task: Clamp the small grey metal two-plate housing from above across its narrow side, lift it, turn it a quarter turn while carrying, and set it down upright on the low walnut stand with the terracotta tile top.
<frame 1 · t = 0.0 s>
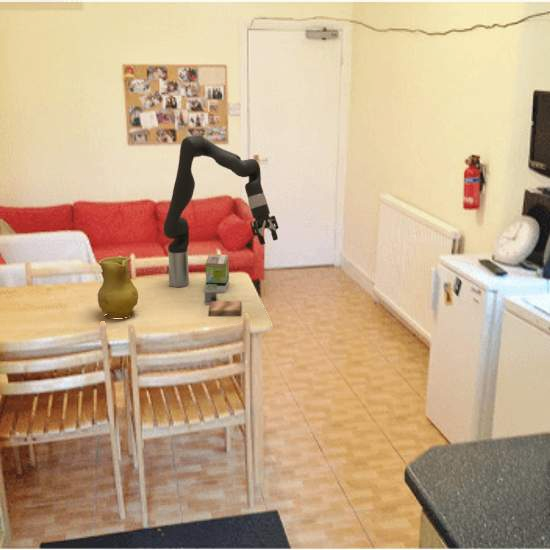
hand: (269, 242, 289), 31 cm above the table, tool tilted 20°, fingers open, 8 cm apart
stand: (225, 310, 299), on the table
housing: (211, 301, 310), on the table
pitcher: (119, 314, 296), on the table
tea box: (217, 288, 328), on the table
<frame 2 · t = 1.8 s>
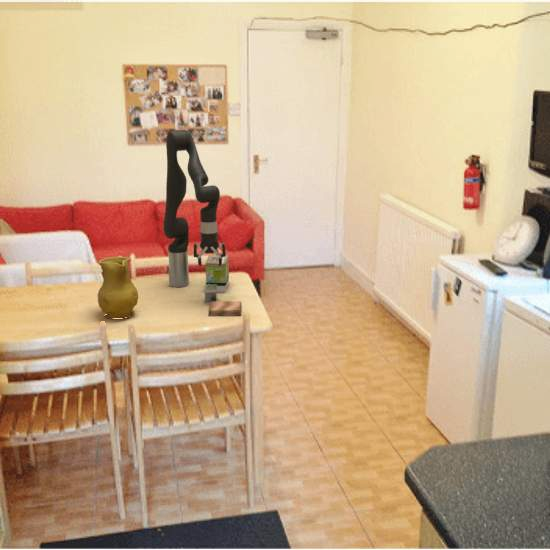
hand: (210, 265, 305), 17 cm above the table, tool pointing down, fingers open, 8 cm apart
nothing on the table moved.
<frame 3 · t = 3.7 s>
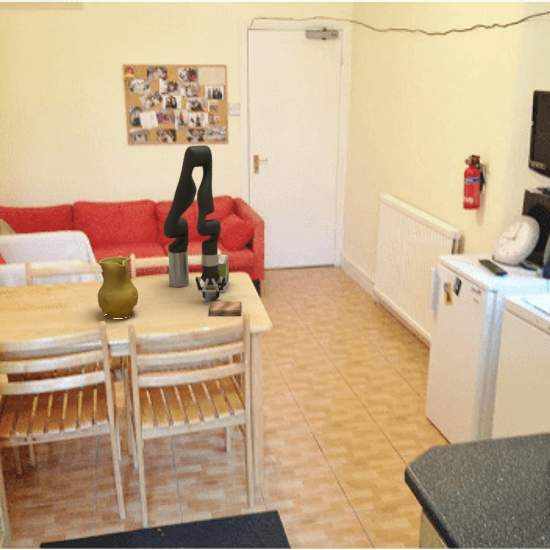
hand: (211, 298, 310), 1 cm above the table, tool pointing down, fingers closed on housing, 5 cm apart
housing: (211, 301, 310), on the table, touching gripper
everything else where it was.
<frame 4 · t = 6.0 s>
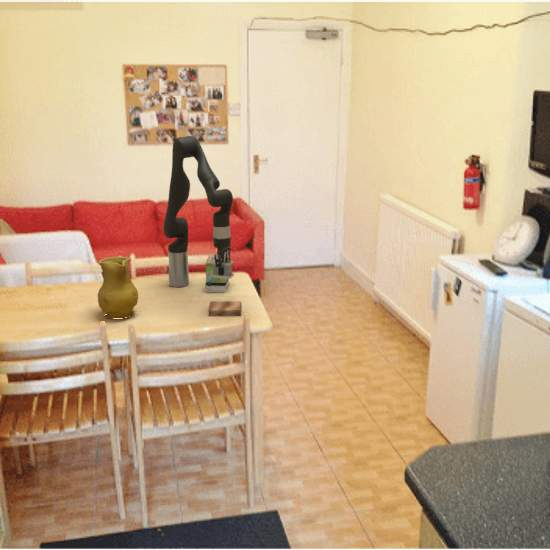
hand: (223, 273, 297), 16 cm above the table, tool pointing down, fingers closed on housing, 5 cm apart
housing: (223, 276, 298), point 15 cm above the table, touching gripper
everything else where it was.
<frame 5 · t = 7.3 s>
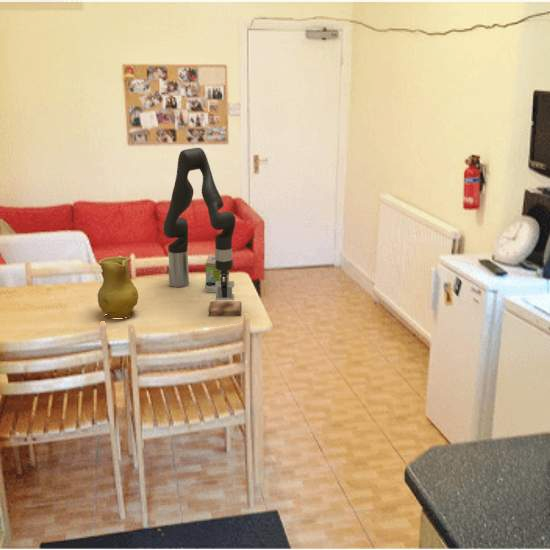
hand: (224, 295, 297), 7 cm above the table, tool pointing down, fingers closed on housing, 5 cm apart
housing: (224, 298, 297), point 6 cm above the table, touching gripper
everything else where it was.
when the fingers open (5 cm above the table, at t = 8.1 s): housing stays where it is, resting on stand.
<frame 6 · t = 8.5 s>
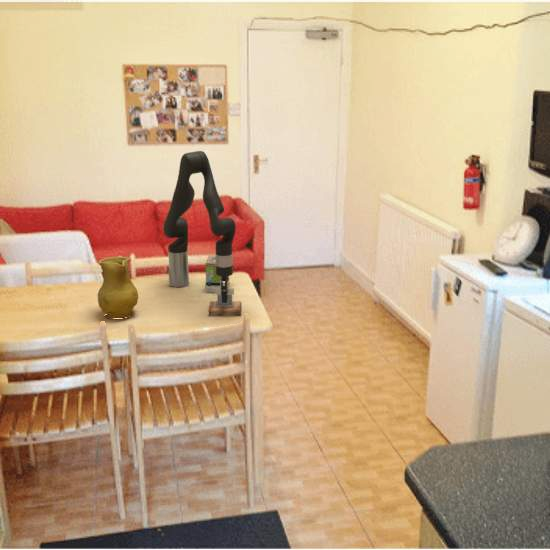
hand: (225, 299, 297), 6 cm above the table, tool pointing down, fingers open, 8 cm apart
housing: (225, 305, 298), point 2 cm above the table, touching stand
everything else where it was.
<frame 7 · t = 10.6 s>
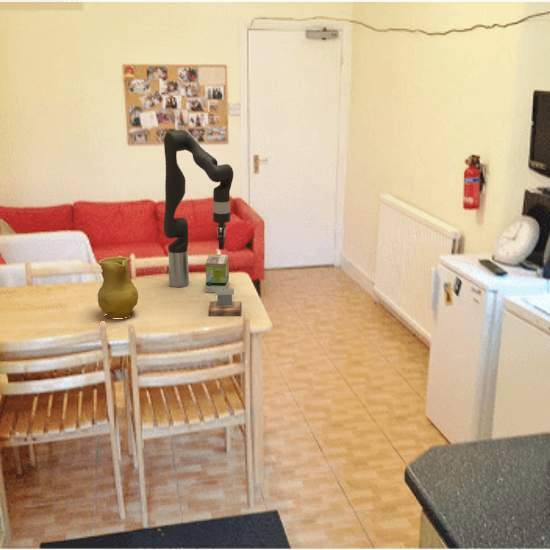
hand: (221, 246, 300), 27 cm above the table, tool pointing down, fingers open, 8 cm apart
nothing on the table moved.
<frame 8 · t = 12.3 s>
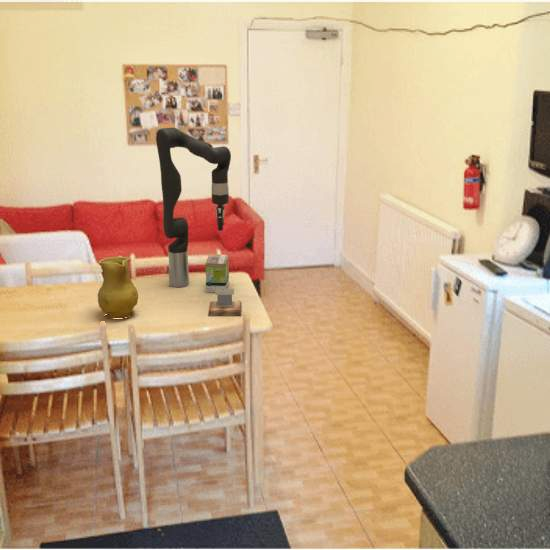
hand: (220, 227, 305), 33 cm above the table, tool pointing down, fingers open, 8 cm apart
nothing on the table moved.
at the end: housing inside the target area on the stand (0.1 cm from its centre), point 2.5 cm above the stand's base; housing tilted 0°; the gripper is holding nothing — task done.
